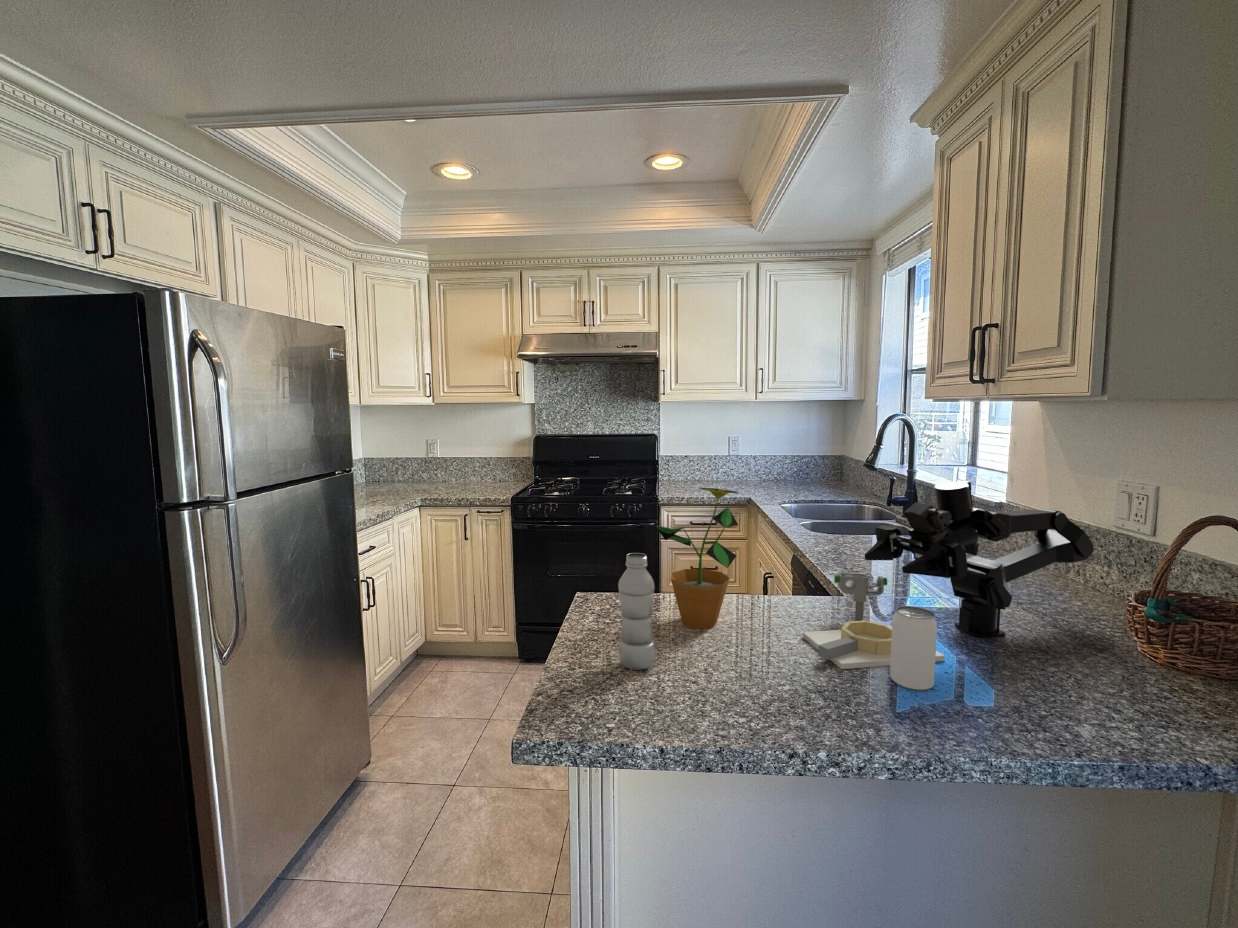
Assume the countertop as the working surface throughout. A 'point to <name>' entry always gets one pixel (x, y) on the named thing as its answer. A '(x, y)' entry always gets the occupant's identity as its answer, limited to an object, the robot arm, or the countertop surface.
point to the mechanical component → (859, 589)
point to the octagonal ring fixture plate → (856, 644)
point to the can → (913, 648)
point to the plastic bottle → (636, 614)
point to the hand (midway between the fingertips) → (883, 563)
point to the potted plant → (702, 574)
